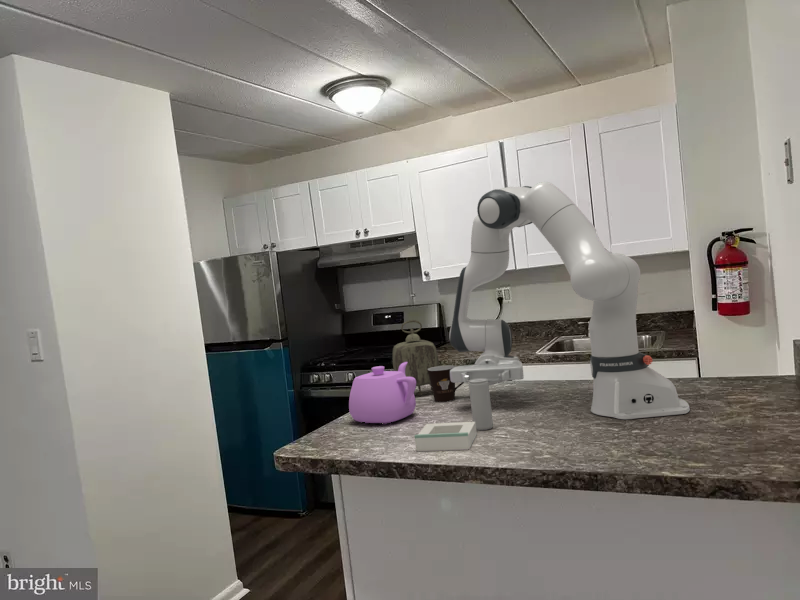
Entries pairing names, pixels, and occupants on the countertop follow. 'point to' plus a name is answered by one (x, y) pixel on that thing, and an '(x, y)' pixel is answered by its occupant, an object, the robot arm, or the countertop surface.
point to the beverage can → (480, 403)
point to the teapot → (382, 396)
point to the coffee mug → (442, 383)
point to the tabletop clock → (415, 357)
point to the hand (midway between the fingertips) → (483, 378)
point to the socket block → (446, 436)
